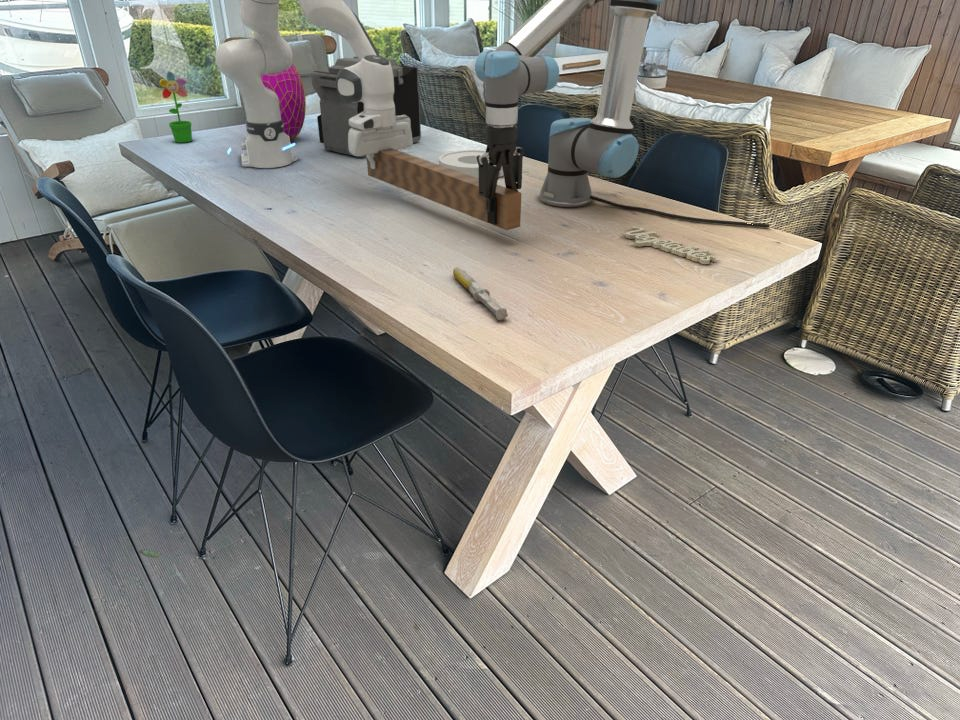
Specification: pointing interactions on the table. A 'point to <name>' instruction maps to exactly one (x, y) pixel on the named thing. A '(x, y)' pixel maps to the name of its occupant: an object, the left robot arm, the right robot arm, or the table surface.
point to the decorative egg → (288, 98)
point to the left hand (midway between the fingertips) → (382, 166)
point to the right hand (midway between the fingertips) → (500, 220)
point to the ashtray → (464, 161)
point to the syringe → (479, 293)
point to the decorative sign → (669, 245)
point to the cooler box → (361, 103)
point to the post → (445, 186)
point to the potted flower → (178, 128)
